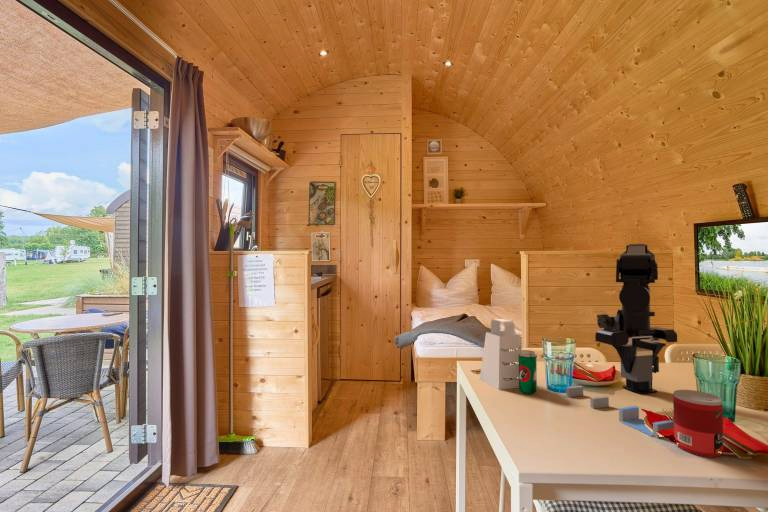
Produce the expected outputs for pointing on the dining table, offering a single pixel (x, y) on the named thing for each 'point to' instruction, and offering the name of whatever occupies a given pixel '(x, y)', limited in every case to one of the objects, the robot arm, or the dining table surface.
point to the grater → (501, 356)
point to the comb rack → (623, 413)
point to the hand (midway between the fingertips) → (636, 372)
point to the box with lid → (640, 366)
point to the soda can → (527, 372)
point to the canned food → (698, 422)
